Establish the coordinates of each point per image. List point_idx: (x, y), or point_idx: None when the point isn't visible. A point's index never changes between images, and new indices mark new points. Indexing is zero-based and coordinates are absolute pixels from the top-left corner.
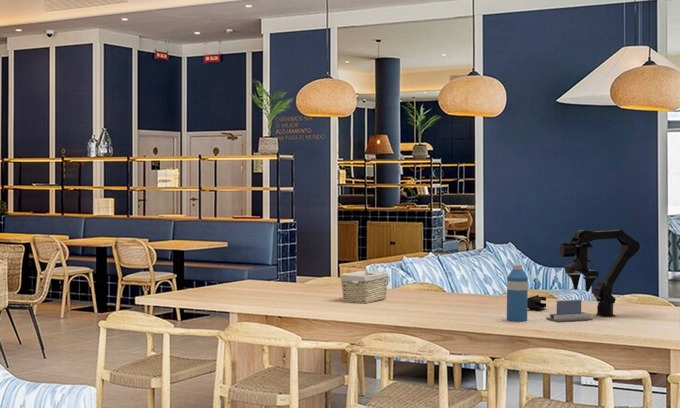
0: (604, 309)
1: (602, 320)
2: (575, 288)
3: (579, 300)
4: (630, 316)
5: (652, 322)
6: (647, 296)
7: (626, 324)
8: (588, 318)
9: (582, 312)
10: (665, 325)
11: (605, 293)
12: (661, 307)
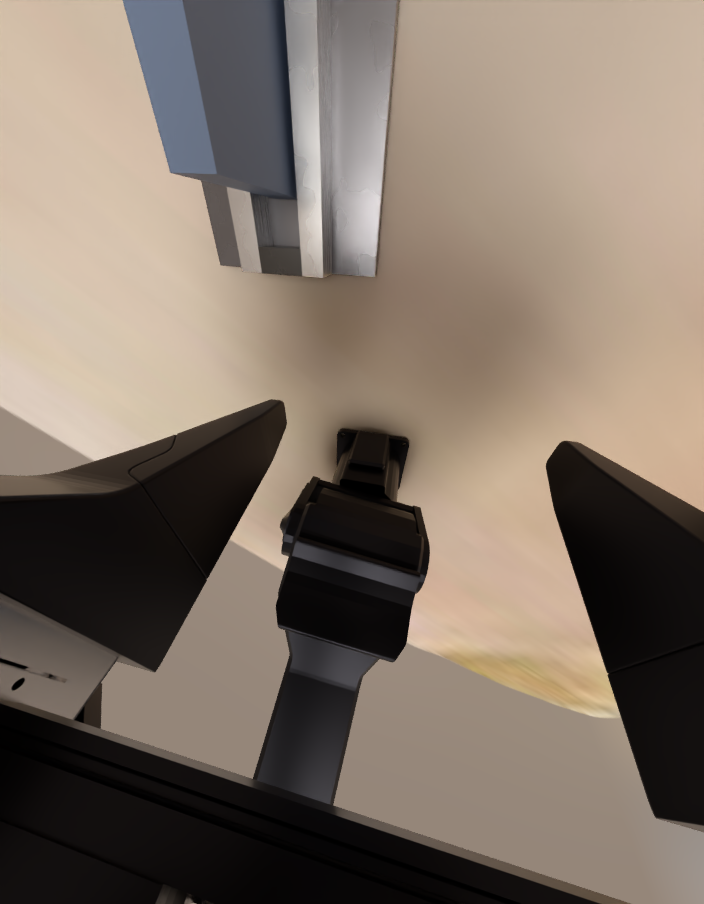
0: (344, 462)
1: (229, 333)
2: (564, 455)
3: (158, 124)
4: None
5: None
6: (573, 708)
7: (100, 349)
8: (233, 238)
9: (307, 257)
10: (111, 455)
11: (283, 525)
12: (426, 638)
